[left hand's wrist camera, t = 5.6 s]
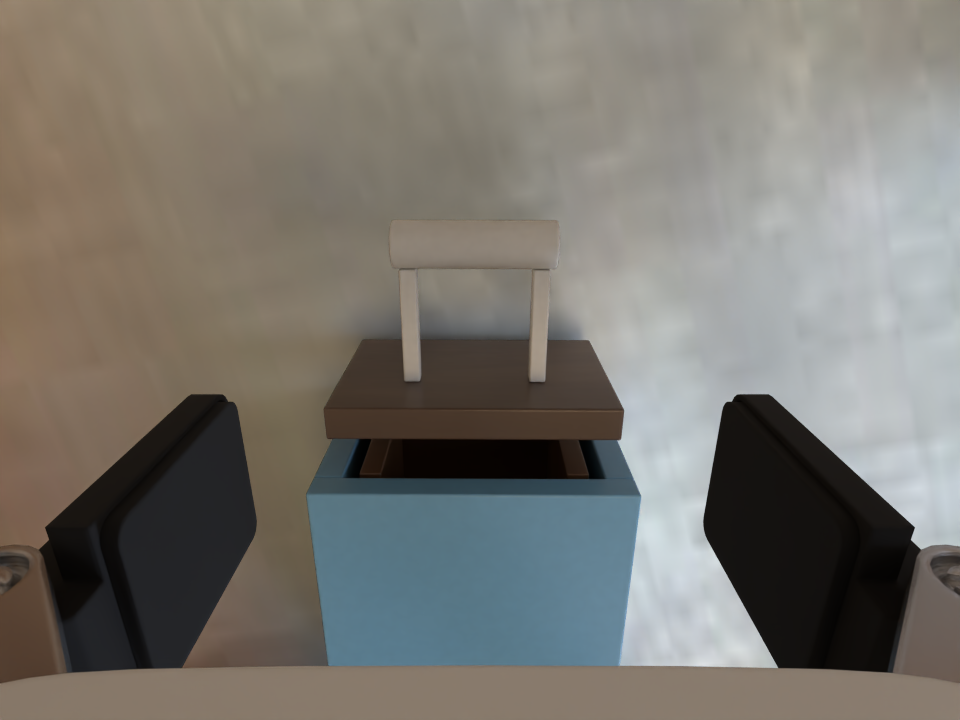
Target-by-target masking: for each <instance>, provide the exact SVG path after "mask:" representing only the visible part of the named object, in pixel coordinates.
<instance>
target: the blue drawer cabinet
mask: <svg viewBox="0 0 960 720" xmlns="http://www.w3.org/2000/svg"><path fill="white" fill-rule="evenodd" d="M371 440H372V439H332V442H331V444H330V446H329V448H328V450H327V452H326V454H325V456H324V458H323V460H322V462H321V464H320V466H319V469H318V471H317V473H316V475H315V477H314V479H313V481H312V483H311V485H310V487H309V489H308V491H307V494H306V499H307V506H308V514H309V522H310V530H311V537H312V545H313V553H314V560H315V568H316V576H317V584H318V591H319V599H320V607H321V614H322V622H323V630H324V638H325V645H326V653H327V661H328V666H442V665H518V666H620V658H621V650H622V643H623V635H624V627H625V619H626V611H627V604H628V596H629V588H630V580H631V572H632V565H633V557H634V549H635V541H636V533H637V525H638V518H639V510H640V502H641V495H640V492H639V490H638V488H637V485H636V483H635V481H634V479H633V476H632V474H631V472H630V469H629V467H628V465H627V462H626V460H625V458H624V455H623V453H622V451H621V448H620V446H619V444H618V442H617V440H578V441H579V444H580V447H581V451H582V454H583V457H584V460H585V464H586V467H587V470H588V473H589V479H429V478H360V475H359V474H360V471H361V468H362V465H363V462H364V460H365V457H366V454H367V451H368V448H369V445H370V443H371Z"/></svg>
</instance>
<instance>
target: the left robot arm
mask: <svg viewBox="0 0 960 720" xmlns="http://www.w3.org/2000/svg"><path fill="white" fill-rule="evenodd" d="M256 523H257V520H256V513H255V507H254V502H253V496H252V490H251V484H250V479H249V473H248V467H247V462H246V456H245V450H244V444H243V439H242V433H241V427H240V422H239V416H238V410H237V407H236V405H235V403H233V402H228V401H227V399H226V397H225V396H224V395H220V394H191V395H190V396H188V397H187V398H186V399H185V400H184V401H183V402H182V403H180V404H179V405H178V406H177V407H176V408H175V409H174V410H173V411H172V412H171V413H170V414H168V415H167V416H166V417H165V418H164V419H163V420H162V421H161V422H160V423H159V424H158V425H156V426H155V427H154V428H153V429H152V430H151V431H150V432H149V433H148V434H147V435H146V436H144V437H143V438H142V439H141V440H140V441H139V442H138V443H137V444H136V445H135V446H134V447H132V448H131V449H130V450H129V451H128V452H127V453H126V454H125V455H124V456H123V457H122V458H120V459H119V460H118V461H117V462H116V463H115V464H114V465H113V466H112V467H111V468H110V469H108V470H107V471H106V472H105V473H104V474H103V475H102V476H101V477H100V478H99V479H98V480H96V481H95V482H94V483H93V484H92V485H91V486H90V487H89V488H88V489H87V490H86V491H84V492H83V493H82V494H81V495H80V496H79V497H78V498H77V499H76V500H75V501H74V502H72V503H71V504H70V505H69V506H68V507H67V508H66V509H65V510H64V511H63V512H62V513H60V514H59V515H58V516H57V517H56V518H55V519H54V520H53V521H52V522H51V523H50V524H48V525H47V526H46V527H45V529H46V532H47V534H48V537H49V541H48V542H47V543H46V544H45V545H43V546H42V547H41V548H40V549H39V550H38V549H36V548H33V547H31V546H26V545H8V546H1V547H0V720H960V547H959V546H952V545H934V546H929V547H927V548H924V549H922V550H921V549H920V548H919V547H918V546H917V545H915V544H914V543H913V542H912V541H911V537H912V534H913V532H914V529H915V527H914V526H913V525H912V524H910V523H909V522H908V521H907V520H906V519H905V518H904V517H903V516H902V515H901V514H900V513H898V512H897V511H896V510H895V509H894V508H893V507H892V506H891V505H890V504H889V503H888V502H886V501H885V500H884V499H883V498H882V497H881V496H880V495H879V494H878V493H877V492H876V491H874V490H873V489H872V488H871V487H870V486H869V485H868V484H867V483H866V482H865V481H864V480H862V479H861V478H860V477H859V476H858V475H857V474H856V473H855V472H854V471H853V470H852V469H850V468H849V467H848V466H847V465H846V464H845V463H844V462H843V461H842V460H841V459H840V458H838V457H837V456H836V455H835V454H834V453H833V452H832V451H831V450H830V449H829V448H828V447H826V446H825V445H824V444H823V443H822V442H821V441H820V440H819V439H818V438H817V437H816V436H814V435H813V434H812V433H811V432H810V431H809V430H808V429H807V428H806V427H805V426H804V425H802V424H801V423H800V422H799V421H798V420H797V419H796V418H795V417H794V416H793V415H792V414H790V413H789V412H788V411H787V410H786V409H785V408H784V407H783V406H782V405H781V404H780V403H778V402H777V401H776V400H775V399H774V398H773V397H772V396H770V395H769V394H740V395H736V396H735V397H734V399H733V401H732V402H727V403H725V405H724V407H723V410H722V416H721V422H720V427H719V433H718V439H717V444H716V450H715V456H714V462H713V467H712V473H711V479H710V484H709V490H708V496H707V502H706V507H705V513H704V520H703V523H704V532H705V535H706V538H707V540H708V542H709V543H710V545H711V547H712V549H713V551H714V552H715V554H716V556H717V558H718V560H719V561H720V563H721V565H722V567H723V569H724V570H725V572H726V574H727V576H728V578H729V580H730V581H731V583H732V585H733V587H734V589H735V590H736V592H737V594H738V596H739V598H740V599H741V601H742V603H743V605H744V607H745V608H746V610H747V612H748V614H749V616H750V617H751V619H752V621H753V623H754V625H755V626H756V628H757V630H758V632H759V634H760V636H761V637H762V639H763V641H764V643H765V645H766V646H767V648H768V650H769V652H770V654H771V655H772V657H773V659H774V661H775V663H776V664H777V666H778V668H741V667H689V666H518V665H442V666H271V667H219V668H182V666H183V664H184V663H185V661H186V659H187V657H188V655H189V654H190V652H191V650H192V648H193V646H194V645H195V643H196V641H197V639H198V637H199V636H200V634H201V632H202V630H203V628H204V626H205V625H206V623H207V621H208V619H209V617H210V616H211V614H212V612H213V610H214V608H215V607H216V605H217V603H218V601H219V599H220V598H221V596H222V594H223V592H224V590H225V589H226V587H227V585H228V583H229V581H230V580H231V578H232V576H233V574H234V572H235V570H236V569H237V567H238V565H239V563H240V561H241V560H242V558H243V556H244V554H245V552H246V551H247V549H248V547H249V545H250V543H251V542H252V540H253V538H254V535H255V532H256Z"/></svg>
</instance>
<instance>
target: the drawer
mask: <svg viewBox="0 0 960 720" xmlns="http://www.w3.org/2000/svg"><path fill="white" fill-rule="evenodd" d="M389 253H390V261H391V265H392V267H393V268H400V269H399V289H400V309H401V329H402V340H372V339H364V340H362V342H361V344H360V345H359V347H358V349H357V351H356V352H355V354H354V356H353V358H352V360H351V361H350V363H349V365H348V367H347V368H346V370H345V372H344V374H343V375H342V377H341V379H340V381H339V383H338V384H337V386H336V388H335V390H334V391H333V393H332V395H331V397H330V398H329V400H328V402H327V404H326V406H325V407H324V417H325V426H326V435H327V438H328V439H372V440H371V443H370V445H369V448H368V451H367V454H366V457H365V460H364V462H363V465H362V468H361V471H360V474H359V475H360V478H429V479H589V473H588V470H587V467H586V464H585V460H584V457H583V454H582V451H581V447H580V444H579V441H578V440H621V436H622V426H623V417H624V409H623V407H622V405H621V403H620V401H619V399H618V397H617V395H616V393H615V391H614V389H613V387H612V385H611V383H610V381H609V379H608V377H607V375H606V373H605V371H604V369H603V367H602V365H601V363H600V361H599V359H598V357H597V355H596V353H595V351H594V349H593V347H592V345H591V343H590V341H588V340H547V336H548V315H549V295H550V275H551V272H550V269H556V268H557V266H558V262H559V253H560V228H559V223H558V221H556V220H392V221H391V224H390V229H389ZM418 269H532V284H531V310H530V337H529V340H420V321H419V294H418Z"/></svg>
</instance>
